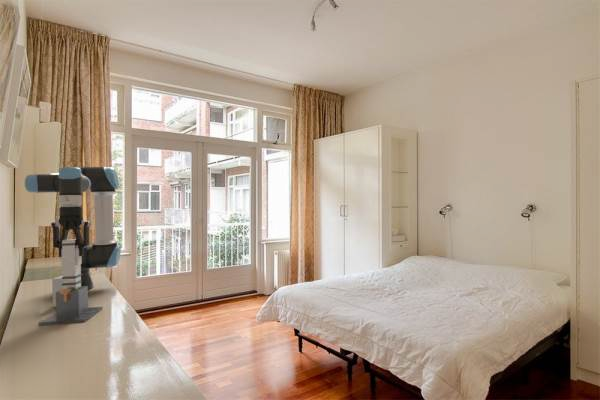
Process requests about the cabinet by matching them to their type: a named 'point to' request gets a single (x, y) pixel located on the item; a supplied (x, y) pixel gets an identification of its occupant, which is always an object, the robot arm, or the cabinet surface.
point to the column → (70, 265)
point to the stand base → (71, 307)
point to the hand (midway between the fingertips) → (71, 264)
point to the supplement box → (56, 287)
